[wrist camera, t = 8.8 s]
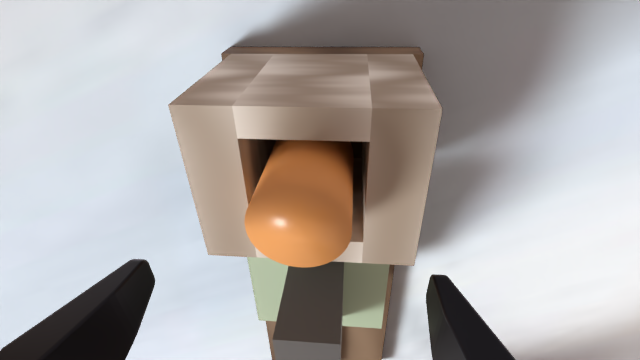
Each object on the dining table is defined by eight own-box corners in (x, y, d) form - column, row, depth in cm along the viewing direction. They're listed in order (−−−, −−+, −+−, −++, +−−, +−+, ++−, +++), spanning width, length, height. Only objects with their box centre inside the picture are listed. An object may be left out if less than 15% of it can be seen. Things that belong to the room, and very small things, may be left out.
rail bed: (419, 47, 18) (459, 109, 11) (378, 360, 34) (383, 468, 27) (230, 46, 19) (153, 104, 12) (276, 352, 35) (255, 455, 28)
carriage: (388, 219, 21) (401, 334, 14) (379, 297, 24) (386, 415, 18) (254, 214, 21) (213, 321, 15) (266, 290, 25) (237, 401, 19)
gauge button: (355, 119, 15) (354, 186, 11) (352, 190, 17) (350, 270, 12) (270, 118, 15) (237, 182, 11) (277, 187, 17) (251, 264, 13)
